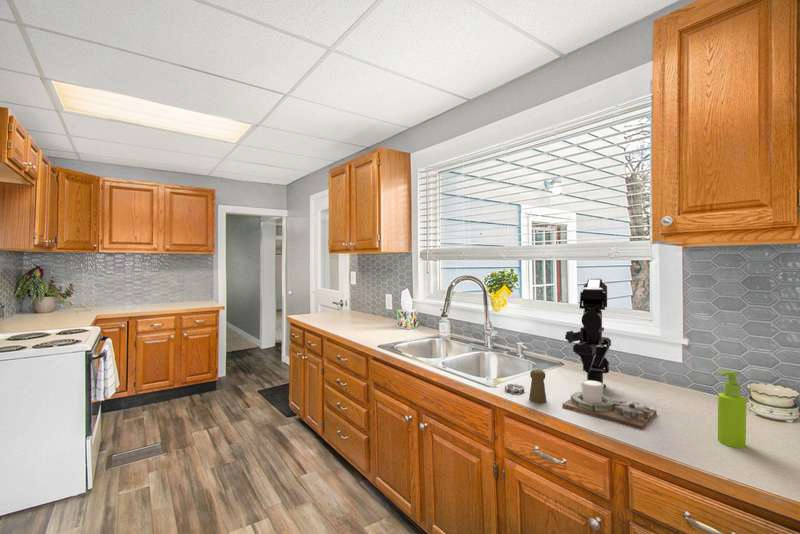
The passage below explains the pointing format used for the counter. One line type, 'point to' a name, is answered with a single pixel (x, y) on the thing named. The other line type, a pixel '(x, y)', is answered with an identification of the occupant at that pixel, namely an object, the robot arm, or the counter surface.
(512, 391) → the gear
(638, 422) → the gear board
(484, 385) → the counter surface
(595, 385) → the white cylinder
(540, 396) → the brown pepper mill
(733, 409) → the soap dispenser
